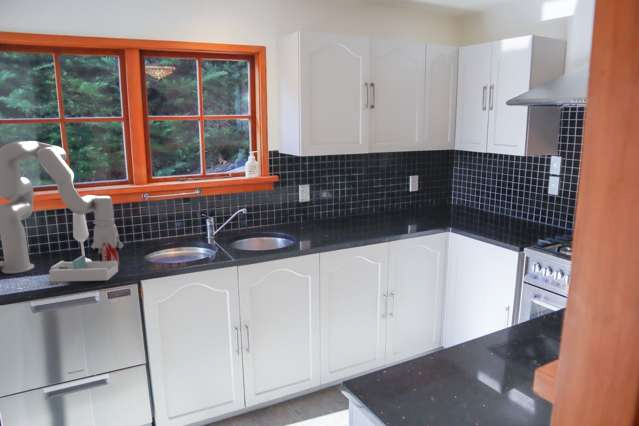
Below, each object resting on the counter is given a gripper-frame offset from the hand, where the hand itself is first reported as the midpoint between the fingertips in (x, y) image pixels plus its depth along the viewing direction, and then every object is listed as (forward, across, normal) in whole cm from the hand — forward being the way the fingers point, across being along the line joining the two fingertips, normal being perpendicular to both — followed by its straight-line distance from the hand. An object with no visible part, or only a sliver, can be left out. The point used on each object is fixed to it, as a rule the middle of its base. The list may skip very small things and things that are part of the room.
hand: (108, 260), depth 216 cm
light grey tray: (+3, -6, -12) cm, 14 cm away
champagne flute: (+4, -17, +11) cm, 20 cm away
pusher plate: (+2, -8, -12) cm, 14 cm away
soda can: (+3, +1, 0) cm, 4 cm away
